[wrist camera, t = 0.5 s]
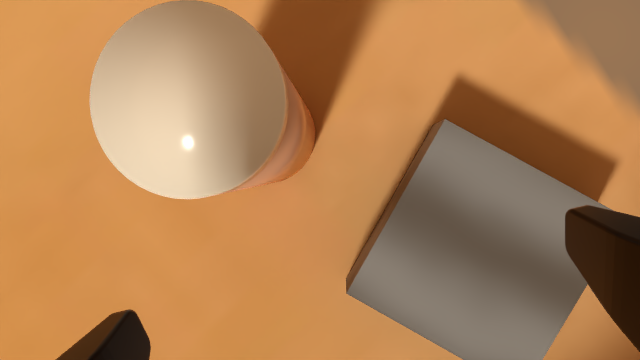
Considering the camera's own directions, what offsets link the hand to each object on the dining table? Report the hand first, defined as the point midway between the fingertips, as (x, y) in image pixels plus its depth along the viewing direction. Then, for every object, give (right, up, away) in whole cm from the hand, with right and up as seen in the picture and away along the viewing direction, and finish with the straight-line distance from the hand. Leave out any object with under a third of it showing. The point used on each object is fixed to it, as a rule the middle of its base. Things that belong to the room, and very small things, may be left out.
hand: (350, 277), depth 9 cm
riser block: (+8, -2, +16) cm, 18 cm away
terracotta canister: (-4, +5, +16) cm, 17 cm away
